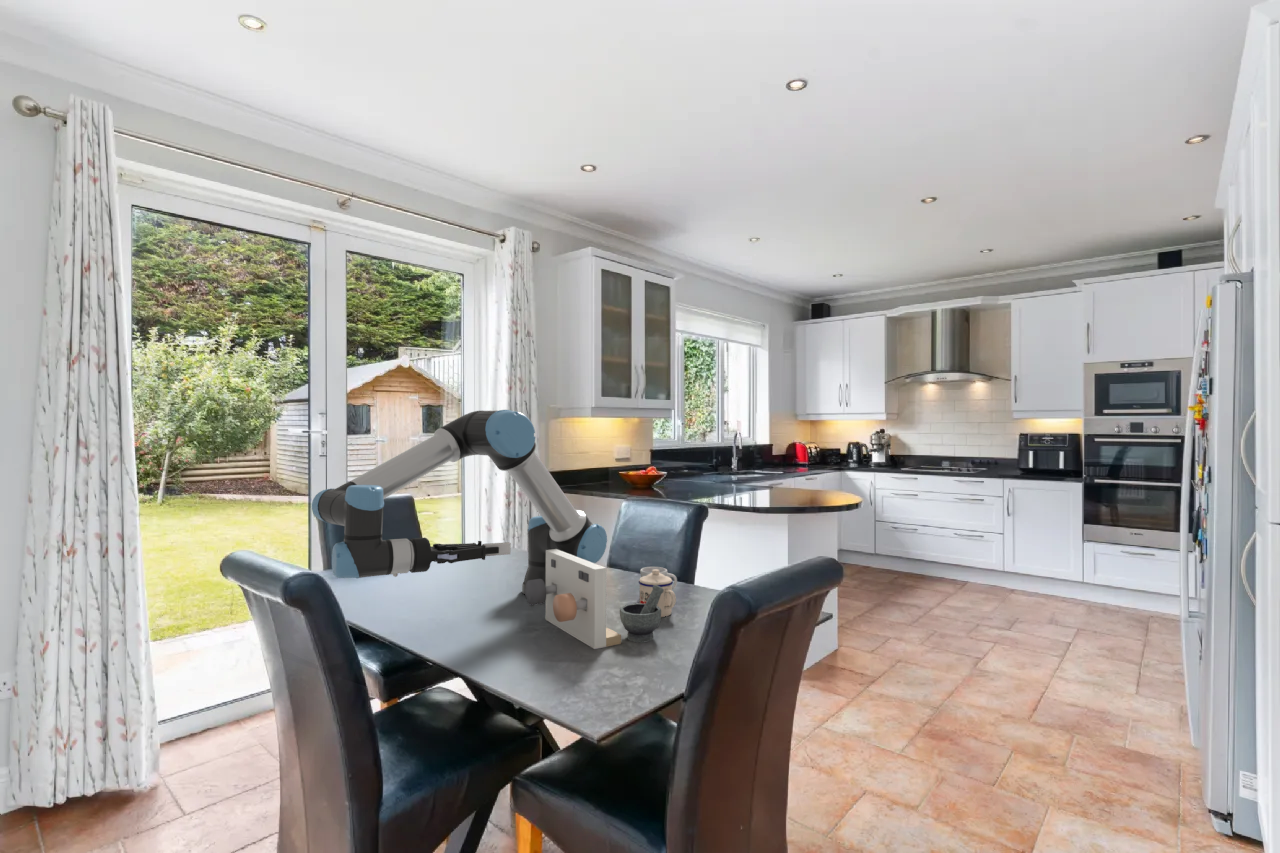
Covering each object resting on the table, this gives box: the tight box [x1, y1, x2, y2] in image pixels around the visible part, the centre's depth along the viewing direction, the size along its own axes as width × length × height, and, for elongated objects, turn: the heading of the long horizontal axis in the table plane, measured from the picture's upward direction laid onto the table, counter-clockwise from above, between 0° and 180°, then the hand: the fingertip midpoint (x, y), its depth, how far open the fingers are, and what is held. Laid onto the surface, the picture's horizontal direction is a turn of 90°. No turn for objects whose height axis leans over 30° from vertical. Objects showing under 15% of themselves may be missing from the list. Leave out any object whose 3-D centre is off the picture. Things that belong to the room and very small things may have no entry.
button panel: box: [545, 549, 622, 650], centre depth 161 cm, size 7×26×18 cm, turn 33°
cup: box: [639, 566, 678, 591], centre depth 192 cm, size 11×8×8 cm
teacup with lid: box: [638, 569, 677, 618], centre depth 175 cm, size 12×9×12 cm
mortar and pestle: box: [619, 585, 664, 643], centre depth 156 cm, size 11×9×12 cm
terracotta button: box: [553, 593, 587, 622], centre depth 151 cm, size 10×6×6 cm, turn 123°
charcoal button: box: [525, 579, 557, 606], centre depth 165 cm, size 10×6×6 cm, turn 123°
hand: (509, 548), depth 159 cm, fingers closed
